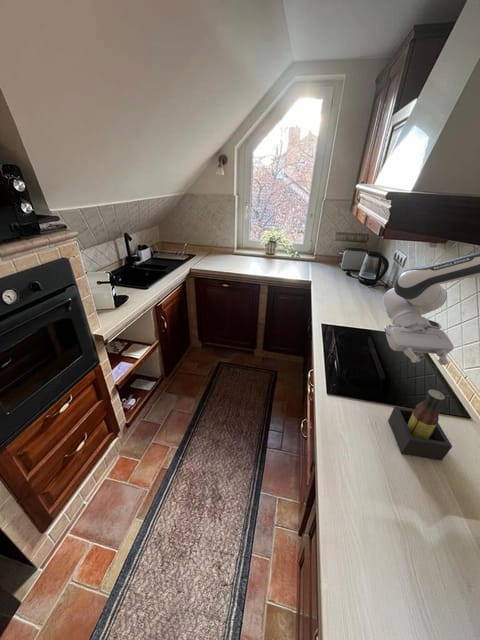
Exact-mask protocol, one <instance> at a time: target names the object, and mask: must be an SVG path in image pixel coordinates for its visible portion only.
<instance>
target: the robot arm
mask: <svg viewBox="0 0 480 640" xmlns="http://www.w3.org/2000/svg"><path fill="white" fill-rule="evenodd" d="M471 278H472V279H473V278H475V279H477V278H478V279H480V251H479V252H475V253H470V254H467V255H463V256H459V257H456V258H452V259H449V260H446V261H443V262H438V263H435V264H430V265H427V266H415V267H414V266H413V267H410V268H408V269H405V270H403V271H402V272H401V273H399V274H398V276H397V277H396V279H395V281H394V283H393V287H392V288H390V289H387V291H386V292H385V293H384V294H383V296H382V304H383V307H384V311H385V312H386V315H387V317H388V318H389V319H390V320H391V323H392V325H391V324H386V325H384V327H383V330H384V332H385V335H386V340H387V343H388V346H389V348H390V349H391V350H392V351H396V352H403V354H404V356H405V355H406V357H408V358H409V359H410V361H411V362H412V363H413V364H419V363H420V362H421V357H420V356H419V355H416V353H421V354H432V355H436V356H437V357H439V359H437V362H438V363H439V365H441V366H446V365H448V364H449V360H448V359H447V354H449V353H452V351H453V350H454V344H453V342H452V341H451V339H450V337H449V336H448V334H447V333H446V332H445V331H444V330H442V325H441V323H439V322H437V321H434V320H431V319H428V318H427V317H425V316H423V315H426V314H429V313H432V312H433V311H435V310H438V309H439V308H441V307H442V306H444V304H445V303H446V301H447V299H448V298H447V297H448V293H447V291H446V289H445V288H444V287H442V285H443V284H447V283H452V282H456V281H460V280H464V279H471Z"/></svg>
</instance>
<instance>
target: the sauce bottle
mask: <svg viewBox="0 0 480 640" xmlns="http://www.w3.org/2000/svg"><path fill="white" fill-rule="evenodd" d="M445 399H446V397H445V395H444V393H442V392H441V391H439V390H437V389H429V390H428V391H427V393H426V397H425V398H424V399H423V401H420V402H418V404H416V406H415V408H414V409H415V410H414V412H413V414H412V416H411V418H410V420H409V422H408V424H407V427H408V429H409V431H410V433H411V435H412V437H416V438H423V439H429V437H430V436H431V434H432V432H433V430H434V428H435V426H436V425H437V423H439V420H440V419H439V417H440V415H439V414H440V408H441V405H442V404H443V403H444V402H445Z"/></svg>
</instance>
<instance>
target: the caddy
mask: <svg viewBox="0 0 480 640" xmlns="http://www.w3.org/2000/svg"><path fill="white" fill-rule="evenodd" d="M414 410H415V408H408V407H401V406H394V407H393V409H392V411H391V413H390V415H389V417H388V419H387V422H388V425H389V426H390V429H391V432H392V434H393V437H394V439H395V442H396V444H397V447H398V449H399V452H400V454H401V455H406V456H412V457H418V458H423V459H430V460H437V461H443V460H444V459H445V457H446V456H447V455H448V453H450V450H451V449H452V447H453V445H452V442H450V439H448V436H447V435H446V433H445V432H444V429H443V428H442V427H441V425H440V423H439V422H438V423H437V425H436V426H435V428H434V430H433V432H432V434H431V436H430V437H429V439H423V438H416V437H412V435H411V433H410V431H409V429H408V427H407V424H408V422H409V420H410V418H411V416H412V414H413V412H414Z"/></svg>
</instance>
